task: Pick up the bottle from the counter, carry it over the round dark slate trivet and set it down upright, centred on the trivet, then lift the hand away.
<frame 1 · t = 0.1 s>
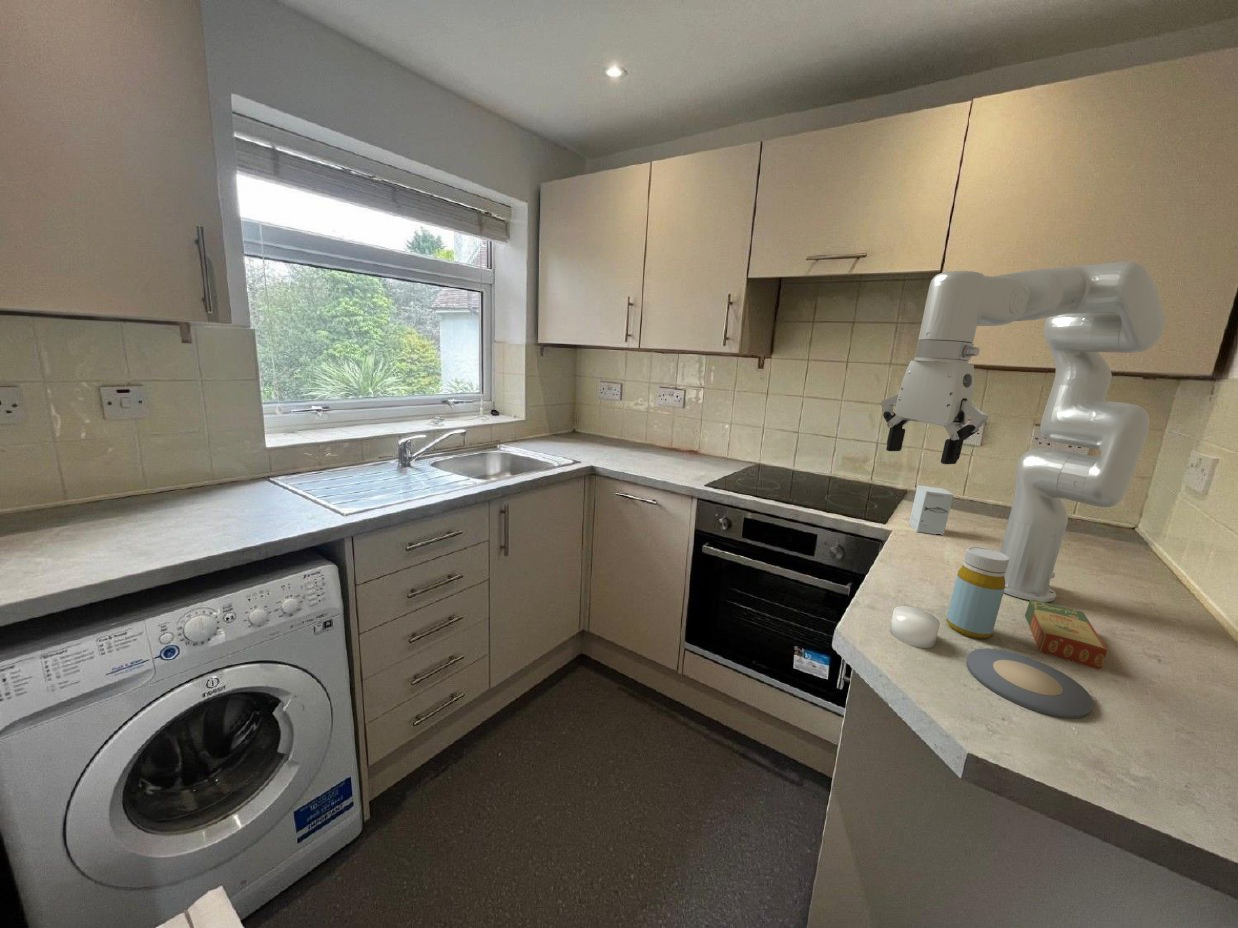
hand: (919, 457, 84), 31 cm above the countertop, tool pointing down, fingers open, 9 cm apart
trivet: (1025, 682, 76), on the countertop
bottle: (967, 630, 91), on the countertop
carton: (1058, 642, 90), on the countertop
supplement box: (925, 530, 147), on the countertop
white smooth round part: (911, 636, 87), on the countertop
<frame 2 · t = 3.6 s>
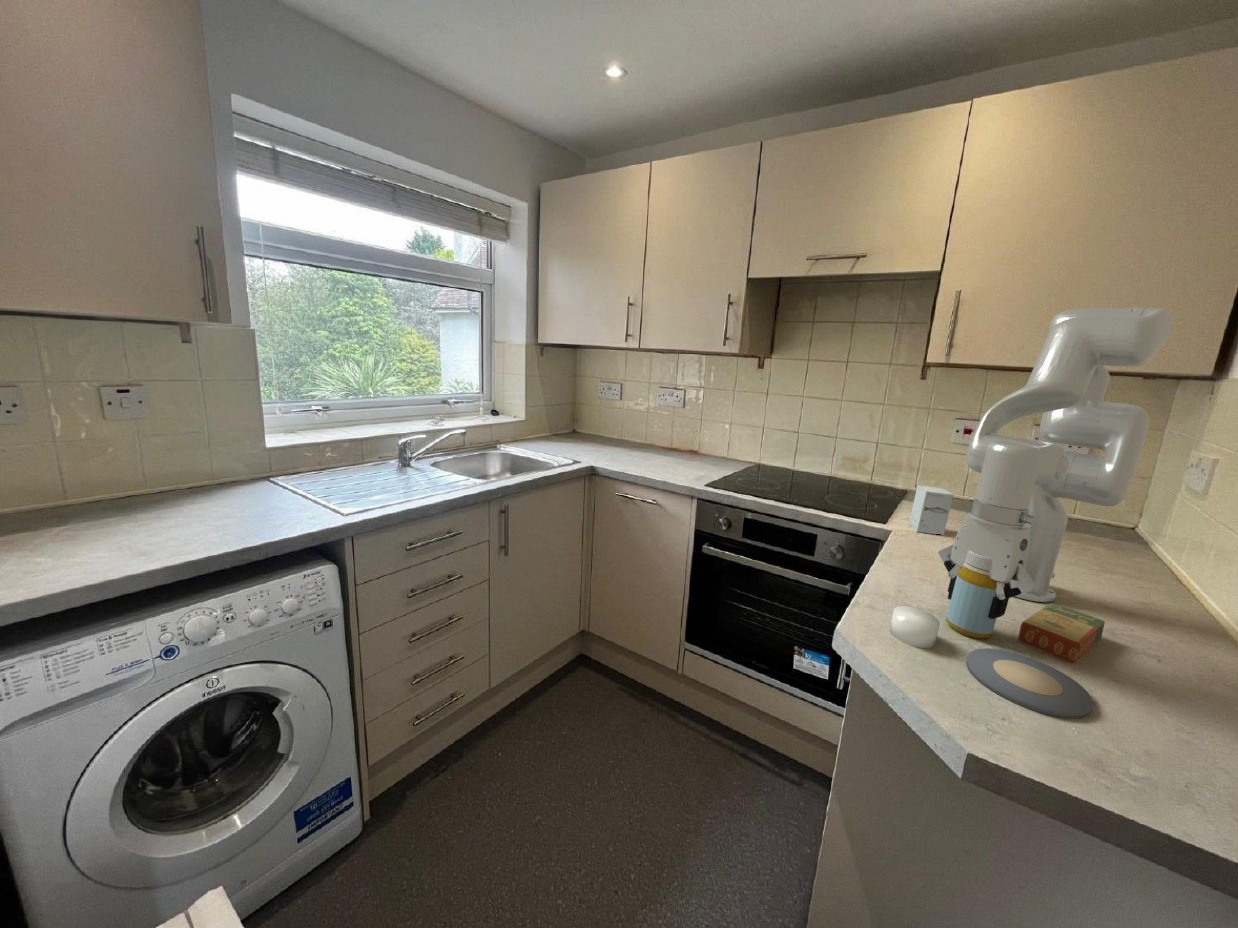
hand: (973, 606, 90), 5 cm above the countertop, tool pointing down, fingers closed on bottle, 6 cm apart
bottle: (967, 630, 91), on the countertop, touching gripper
when the fingers open (7 cm above the countertop, at t = 9.5 s): bottle drops 1 cm, resting on trivet.
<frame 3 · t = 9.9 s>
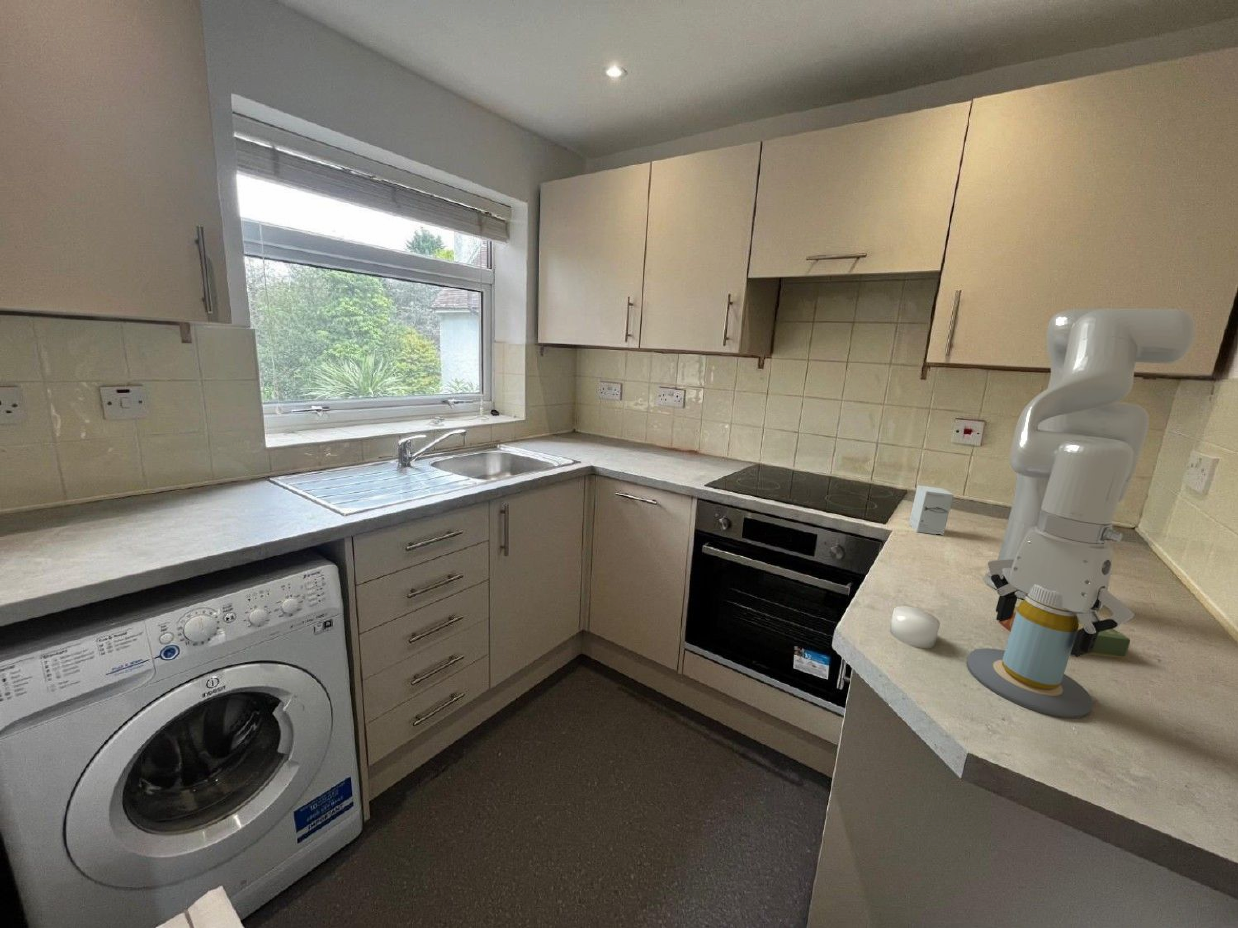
hand: (1039, 635, 75), 8 cm above the countertop, tool pointing down, fingers open, 9 cm apart
bottle: (1028, 678, 76), point 1 cm above the countertop, touching trivet
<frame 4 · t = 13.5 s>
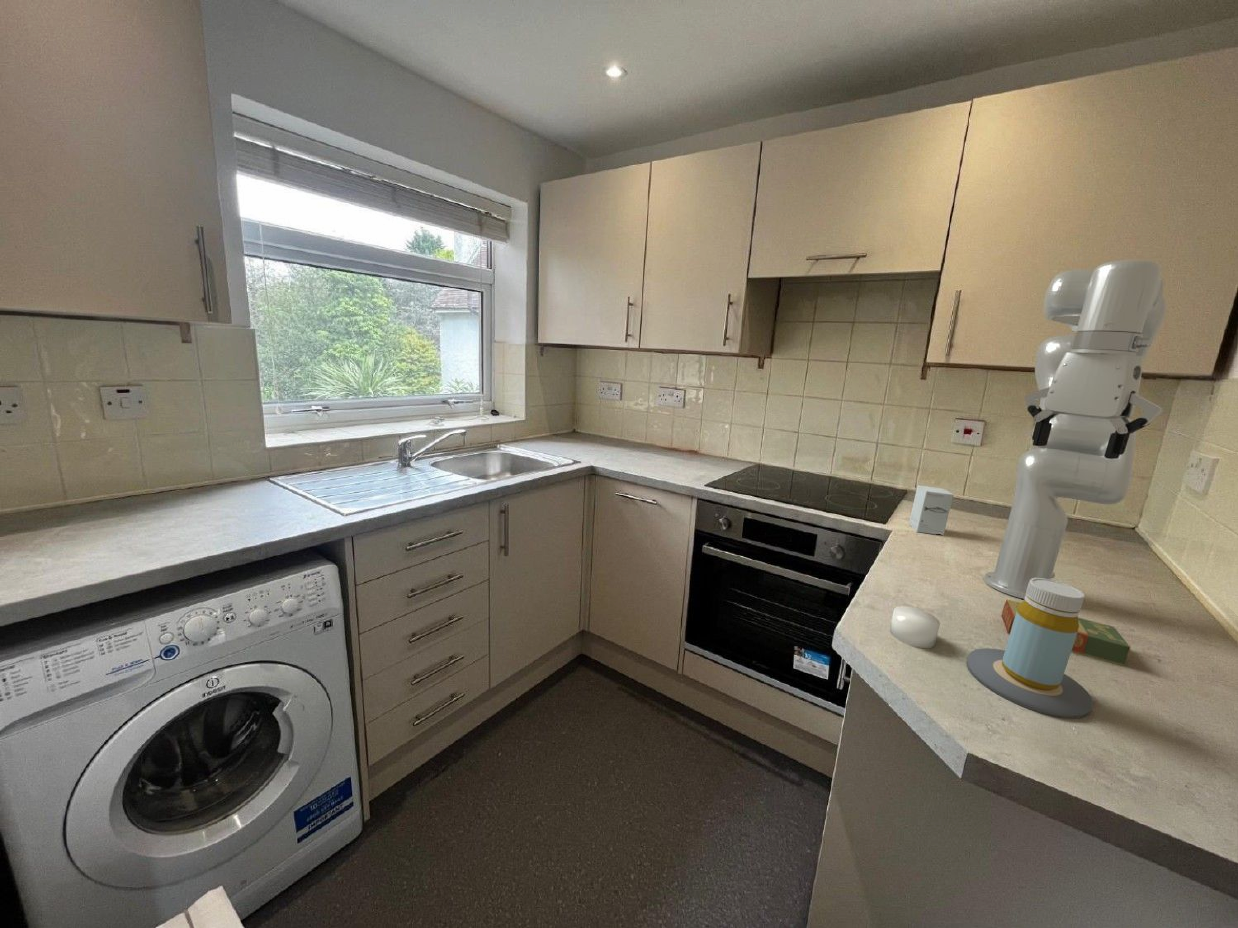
hand: (1073, 451, 82), 34 cm above the countertop, tool pointing down, fingers open, 9 cm apart
at the end: bottle 0.2 cm from the trivet (horizontally); bottle tilted 1°; the gripper is holding nothing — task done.
